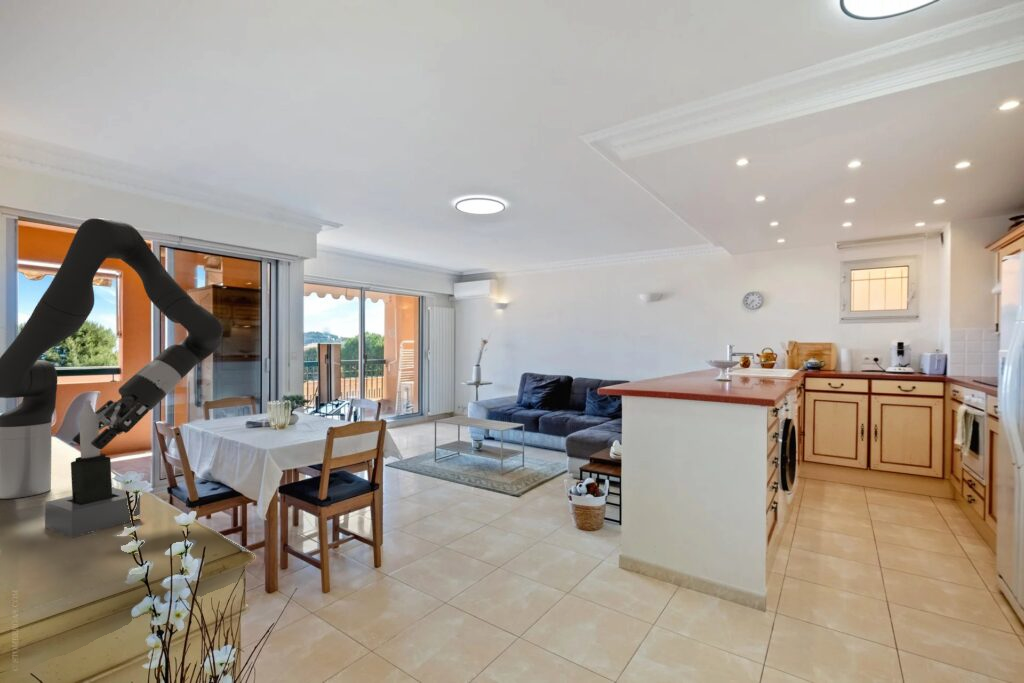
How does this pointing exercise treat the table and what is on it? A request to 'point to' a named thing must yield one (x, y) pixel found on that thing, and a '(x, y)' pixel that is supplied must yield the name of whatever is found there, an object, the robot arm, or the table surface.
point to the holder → (88, 514)
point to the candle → (90, 464)
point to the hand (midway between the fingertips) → (85, 444)
